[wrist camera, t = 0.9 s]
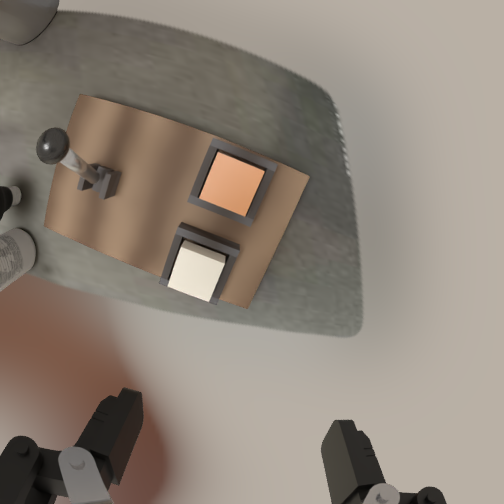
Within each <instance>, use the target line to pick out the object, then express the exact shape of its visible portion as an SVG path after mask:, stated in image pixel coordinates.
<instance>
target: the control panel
mask: <svg viewBox="0 0 504 504" xmlns="http://www.w3.org/2000/svg"><path fill="white" fill-rule="evenodd" d="M66 133H67V134H68V136H69V139H70V149H72V150H73V151H74V152H75V153H76V154H77V155H78V156H80V157H81V158H82V159H83V160H84V161H86V162H87V163H88V164H89V165H90V166H91V167H93V168H94V169H95V170H96V171H97V172H98V173H99V174H100V179H99V181H98V182H97V183H95V184H91V183H90V182H88V181H87V180H85V179H84V178H82V177H81V176H79V175H78V174H76V173H75V172H73V171H72V170H70V169H69V168H67V167H66V166H65V165H63V164H62V163H60V162H59V163H57V165H56V169H55V173H54V177H53V181H52V185H51V190H50V195H49V200H48V205H47V210H46V216H45V222H44V226H45V227H47V228H49V229H51V230H53V231H55V232H57V233H59V234H62V235H64V236H66V237H68V238H70V239H72V240H75V241H77V242H79V243H81V244H83V245H86V246H88V247H90V248H92V249H95V250H97V251H99V252H102V253H104V254H106V255H109V256H111V257H113V258H116V259H118V260H120V261H123V262H125V263H127V264H130V265H132V266H135V267H137V268H140V269H142V270H144V271H147V272H149V273H152V274H154V275H157V276H159V277H161V278H160V281H159V284H162V285H164V286H168V283H169V280H170V277H171V274H172V271H173V268H174V265H175V262H176V260H177V257H178V254H179V251H180V248H181V246H182V244H183V242H184V241H185V240H186V241H188V242H191V243H193V244H196V245H199V246H201V247H204V248H206V249H209V250H211V251H214V252H217V253H219V254H222V255H224V256H226V257H225V265H224V267H223V269H222V272H221V274H220V277H219V279H218V281H217V284H216V286H215V289H214V291H213V293H212V296H211V298H210V301H209V303H212V304H215V305H217V303H218V300H219V299H220V300H223V301H226V302H229V303H232V304H235V305H237V306H240V307H243V308H246V309H248V307H249V305H250V303H251V301H252V299H253V297H254V295H255V292H256V290H257V288H258V286H259V284H260V282H261V280H262V278H263V276H264V274H265V272H266V270H267V267H268V265H269V263H270V261H271V259H272V257H273V255H274V253H275V251H276V248H277V246H278V244H279V242H280V240H281V238H282V236H283V234H284V231H285V229H286V227H287V225H288V223H289V221H290V218H291V216H292V214H293V212H294V210H295V208H296V206H297V203H298V201H299V199H300V197H301V195H302V192H303V190H304V188H305V186H306V184H307V181H308V179H309V177H310V176H308V175H306V174H303V173H301V172H299V171H297V170H295V169H293V168H291V167H288V166H286V165H284V164H282V163H280V162H277V161H275V160H273V159H271V158H268V157H266V156H264V155H261V154H259V153H257V152H254V151H252V150H249V149H247V148H245V147H242V146H240V145H237V144H235V143H232V142H230V141H227V140H225V139H222V138H220V137H217V136H214V135H212V134H209V133H206V132H204V131H201V130H198V129H195V128H193V127H190V126H187V125H184V124H181V123H178V122H176V121H173V120H170V119H167V118H164V117H160V116H157V115H154V114H151V113H148V112H145V111H141V110H138V109H135V108H131V107H128V106H124V105H121V104H117V103H114V102H110V101H106V100H103V99H99V98H95V97H91V96H87V95H82V94H80V95H79V98H78V100H77V103H76V105H75V108H74V111H73V113H72V116H71V119H70V122H69V125H68V128H67V131H66ZM218 152H219V153H222V154H224V155H227V156H229V157H232V158H234V159H237V160H239V161H242V162H244V163H247V164H249V165H251V166H254V167H256V168H258V169H261V170H263V171H265V172H264V174H263V177H262V179H261V181H260V184H259V186H258V188H257V190H256V193H255V195H254V197H253V199H252V202H251V204H250V206H249V209H248V211H247V213H246V216H242V215H240V214H237V213H235V212H232V211H230V210H227V209H225V208H222V207H220V206H217V205H215V204H212V203H210V202H207V201H205V200H202V199H199V197H200V195H201V192H202V190H203V187H204V185H205V182H206V180H207V177H208V175H209V173H210V170H211V168H212V165H213V163H214V161H215V158H216V156H217V154H218ZM169 288H170V287H169ZM172 289H173V288H172ZM177 291H178V290H177ZM182 293H183V292H182ZM185 294H186V293H185ZM190 296H191V295H190ZM193 297H194V296H193ZM198 299H199V298H198ZM201 300H202V299H201ZM204 301H205V300H204Z"/></svg>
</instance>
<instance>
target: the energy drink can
mask: <svg viewBox="0 0 504 504" xmlns="http://www.w3.org/2000/svg"><path fill="white" fill-rule="evenodd" d="M35 256H36V249H35V244H34V242H33V240H32V238H31V236H30V235H29V234H28V233H27V232H25V231H23V230H21V229H18V228H15V229H12V230H10V231H8V232H5V233H3V234H1V235H0V291H1V290H3V289H4V288H5V287H7V286H8V285H9V284H11V283H12V282H13V281H15V280H16V279H17V278H19V277H20V276H22V275H23V274H24V273H26V272H27V271H29V270H30V269H31V268H32V266H33V264H34V260H35Z"/></svg>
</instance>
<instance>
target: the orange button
mask: <svg viewBox="0 0 504 504" xmlns="http://www.w3.org/2000/svg"><path fill="white" fill-rule="evenodd" d="M264 172H265V171H263V170H261V169H258V168H256V167H254V166H251V165H249V164H247V163H244V162H242V161H239V160H237V159H234V158H232V157H229V156H227V155H224V154H222V153H219V152H218V154H217V156H216V158H215V161H214V163H213V165H212V168H211V170H210V173H209V175H208V177H207V180H206V182H205V185H204V187H203V190H202V192H201V195H200V197H199V199H202V200H205V201H207V202H210V203H212V204H215V205H217V206H220V207H222V208H225V209H227V210H230V211H232V212H235V213H237V214H240V215H242V216H246V213H247V211H248V209H249V206H250V204H251V202H252V199H253V197H254V195H255V193H256V190H257V188H258V186H259V184H260V181H261V179H262V177H263V174H264Z"/></svg>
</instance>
